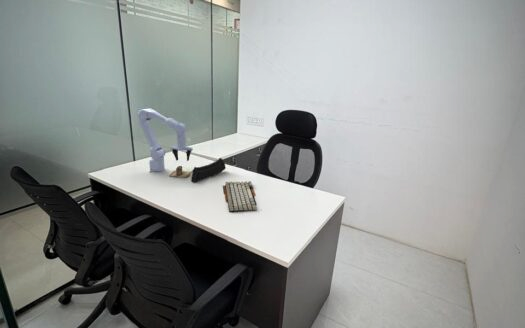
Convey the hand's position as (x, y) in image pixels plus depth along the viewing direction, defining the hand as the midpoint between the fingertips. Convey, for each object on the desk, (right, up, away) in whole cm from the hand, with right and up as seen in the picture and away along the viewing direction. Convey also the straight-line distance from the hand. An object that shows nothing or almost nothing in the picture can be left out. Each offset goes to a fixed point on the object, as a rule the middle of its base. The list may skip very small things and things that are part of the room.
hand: (182, 160), depth 183 cm
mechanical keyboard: (+43, -22, -28) cm, 56 cm away
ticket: (0, -7, +6) cm, 9 cm away
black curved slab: (+19, -12, -1) cm, 23 cm away
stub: (-1, -10, -3) cm, 11 cm away
